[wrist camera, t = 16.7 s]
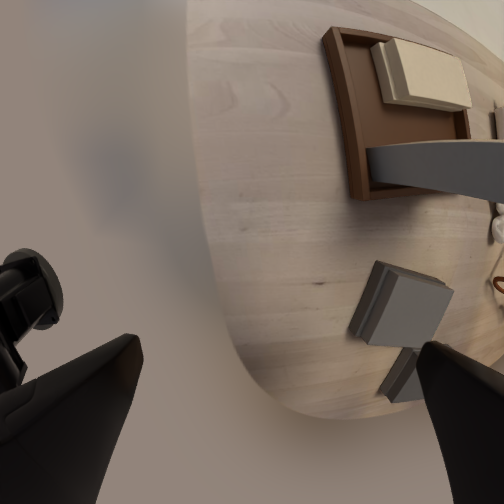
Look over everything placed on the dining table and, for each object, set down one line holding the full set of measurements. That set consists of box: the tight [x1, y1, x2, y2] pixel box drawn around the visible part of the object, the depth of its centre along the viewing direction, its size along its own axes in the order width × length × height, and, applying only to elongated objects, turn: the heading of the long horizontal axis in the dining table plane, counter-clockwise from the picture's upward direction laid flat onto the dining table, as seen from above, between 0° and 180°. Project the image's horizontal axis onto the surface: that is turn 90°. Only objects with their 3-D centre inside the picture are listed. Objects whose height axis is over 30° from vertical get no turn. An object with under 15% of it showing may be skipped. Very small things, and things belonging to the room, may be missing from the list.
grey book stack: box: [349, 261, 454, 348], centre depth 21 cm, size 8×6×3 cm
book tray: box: [322, 27, 471, 201], centre depth 17 cm, size 13×13×2 cm
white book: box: [366, 139, 504, 204], centre depth 12 cm, size 7×2×13 cm, turn 104°
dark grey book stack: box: [380, 344, 454, 403], centre depth 24 cm, size 8×6×3 cm
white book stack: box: [370, 38, 472, 112], centre depth 15 cm, size 8×5×3 cm, turn 99°
